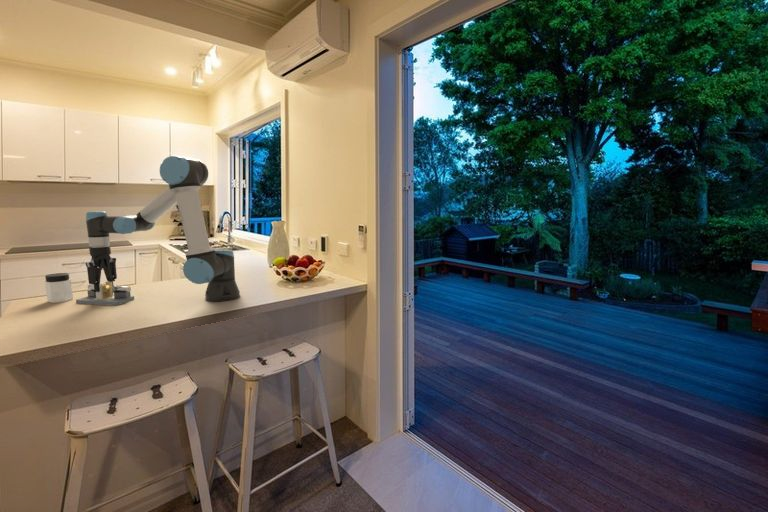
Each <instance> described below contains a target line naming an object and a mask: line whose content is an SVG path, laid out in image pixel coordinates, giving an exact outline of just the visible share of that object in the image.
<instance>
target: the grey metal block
mask: <svg viewBox="0 0 768 512" xmlns="http://www.w3.org/2000/svg"><path fill="white" fill-rule="evenodd" d="M131 291H132V288H131V286H129V285H127V286H126V285H125V286H119V285H114V284H113V287H112V292H113V295H114V299H126V298H129V297H131V296H132V295H131Z"/></svg>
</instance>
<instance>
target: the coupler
mask: <svg viewBox="0 0 768 512" xmlns="http://www.w3.org/2000/svg"><path fill="white" fill-rule="evenodd" d="M101 284H102V292H103V299H107V298H110V297H113V295H114V293H113V292H112V284H106V283H101ZM95 293H96V292H95Z"/></svg>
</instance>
